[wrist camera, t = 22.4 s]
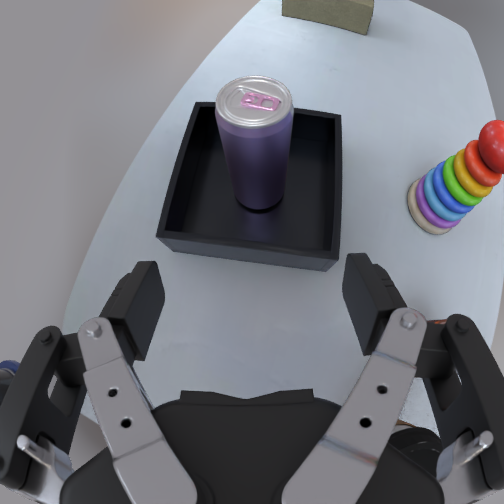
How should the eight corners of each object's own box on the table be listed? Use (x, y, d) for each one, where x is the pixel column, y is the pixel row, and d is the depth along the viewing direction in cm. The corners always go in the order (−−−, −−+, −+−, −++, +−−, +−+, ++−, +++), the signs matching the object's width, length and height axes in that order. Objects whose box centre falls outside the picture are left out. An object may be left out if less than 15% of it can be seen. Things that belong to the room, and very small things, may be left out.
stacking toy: (405, 174, 34) (475, 83, 16) (450, 191, 33) (528, 118, 15) (404, 228, 32) (496, 149, 14) (452, 242, 31) (549, 184, 13)
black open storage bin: (172, 251, 33) (155, 236, 27) (203, 129, 37) (195, 101, 31) (326, 271, 31) (338, 260, 26) (332, 142, 35) (341, 114, 30)
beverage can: (275, 218, 32) (281, 137, 18) (226, 203, 33) (199, 119, 18) (290, 174, 33) (303, 82, 19) (243, 161, 34) (230, 69, 20)
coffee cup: (358, 466, 25) (406, 532, 10) (305, 439, 27) (331, 513, 12) (401, 412, 26) (474, 452, 12) (350, 381, 28) (412, 420, 13)
